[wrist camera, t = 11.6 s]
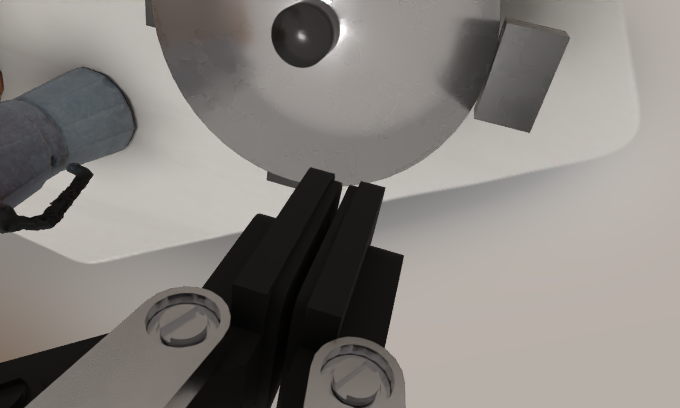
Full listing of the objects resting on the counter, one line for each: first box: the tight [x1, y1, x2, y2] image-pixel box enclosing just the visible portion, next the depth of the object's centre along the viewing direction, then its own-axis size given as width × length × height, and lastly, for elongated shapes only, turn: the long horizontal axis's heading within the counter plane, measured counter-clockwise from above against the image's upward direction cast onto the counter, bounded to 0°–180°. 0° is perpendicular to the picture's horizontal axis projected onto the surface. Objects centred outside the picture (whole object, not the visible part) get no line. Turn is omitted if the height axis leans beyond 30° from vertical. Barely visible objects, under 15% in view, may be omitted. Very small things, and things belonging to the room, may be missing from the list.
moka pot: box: [0, 68, 134, 234], centre depth 40 cm, size 10×15×20 cm, turn 76°
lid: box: [152, 0, 570, 186], centre depth 25 cm, size 22×19×4 cm
